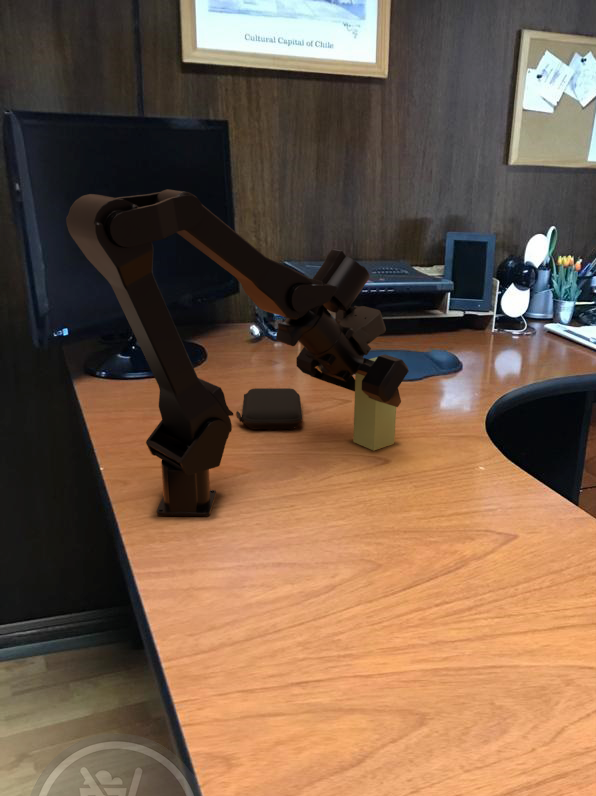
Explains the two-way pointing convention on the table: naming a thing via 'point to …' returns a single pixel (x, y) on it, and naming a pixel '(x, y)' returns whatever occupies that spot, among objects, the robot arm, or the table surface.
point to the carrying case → (271, 408)
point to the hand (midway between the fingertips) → (377, 396)
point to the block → (372, 419)
